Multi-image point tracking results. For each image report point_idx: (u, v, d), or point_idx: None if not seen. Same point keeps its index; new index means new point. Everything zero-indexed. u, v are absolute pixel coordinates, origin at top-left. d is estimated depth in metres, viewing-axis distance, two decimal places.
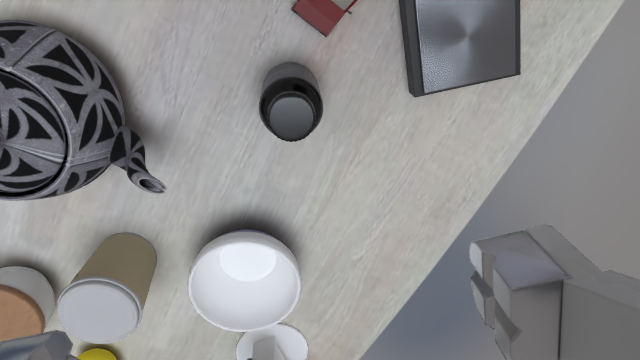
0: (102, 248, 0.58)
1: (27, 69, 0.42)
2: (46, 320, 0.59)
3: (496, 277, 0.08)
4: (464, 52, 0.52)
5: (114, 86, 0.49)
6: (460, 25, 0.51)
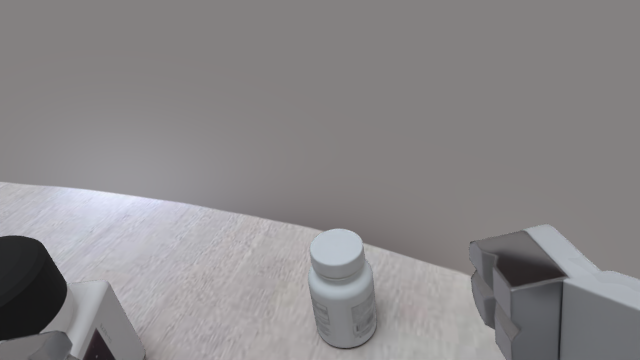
0: None
1: None
2: None
3: (496, 277, 0.08)
4: None
5: None
6: None
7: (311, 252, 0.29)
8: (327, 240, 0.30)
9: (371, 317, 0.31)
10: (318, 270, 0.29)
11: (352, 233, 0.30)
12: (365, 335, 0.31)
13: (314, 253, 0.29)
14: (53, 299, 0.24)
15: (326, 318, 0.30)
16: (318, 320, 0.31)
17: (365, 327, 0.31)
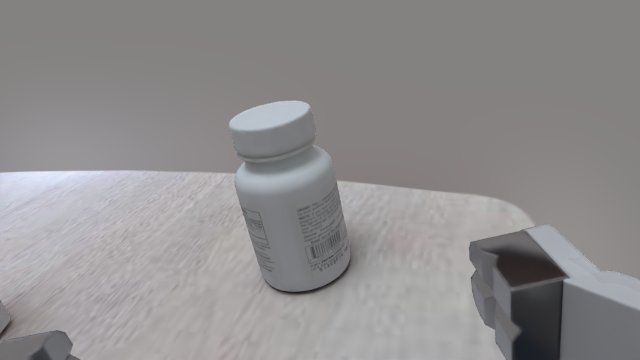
0: None
1: None
2: None
3: (496, 277, 0.08)
4: None
5: None
6: None
7: (230, 124, 0.19)
8: (258, 112, 0.19)
9: (337, 238, 0.20)
10: (240, 149, 0.18)
11: (296, 101, 0.20)
12: (329, 268, 0.20)
13: (234, 124, 0.18)
14: None
15: (262, 237, 0.19)
16: (255, 248, 0.20)
17: (327, 253, 0.20)
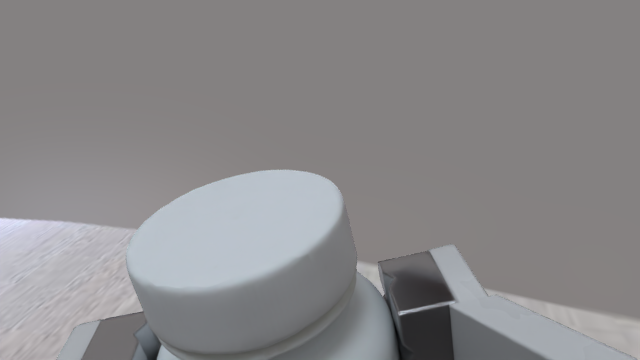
0: None
1: None
2: None
3: (391, 299, 0.08)
4: None
5: None
6: None
7: (130, 247, 0.07)
8: (209, 204, 0.08)
9: None
10: (151, 325, 0.07)
11: (307, 176, 0.08)
12: None
13: (139, 249, 0.07)
14: None
15: None
16: None
17: None
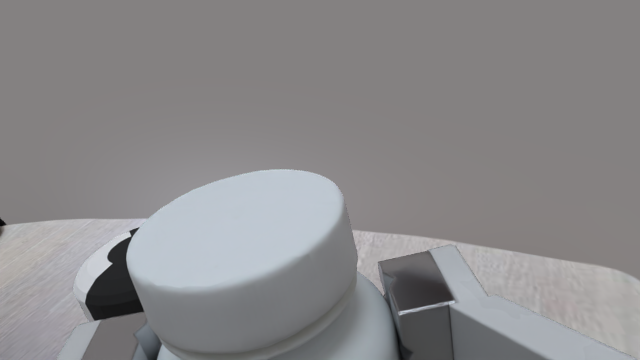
0: None
1: None
2: None
3: (391, 300, 0.08)
4: None
5: None
6: None
7: (131, 246, 0.07)
8: (210, 204, 0.08)
9: None
10: (152, 324, 0.07)
11: (307, 175, 0.08)
12: None
13: (140, 249, 0.07)
14: None
15: None
16: None
17: None
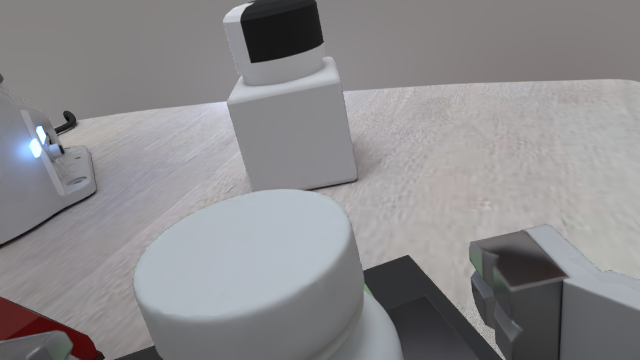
0: None
1: None
2: None
3: (496, 277, 0.08)
4: None
5: None
6: None
7: (137, 270, 0.07)
8: (216, 225, 0.08)
9: None
10: (158, 349, 0.07)
11: (313, 196, 0.08)
12: None
13: (146, 273, 0.07)
14: None
15: None
16: None
17: None
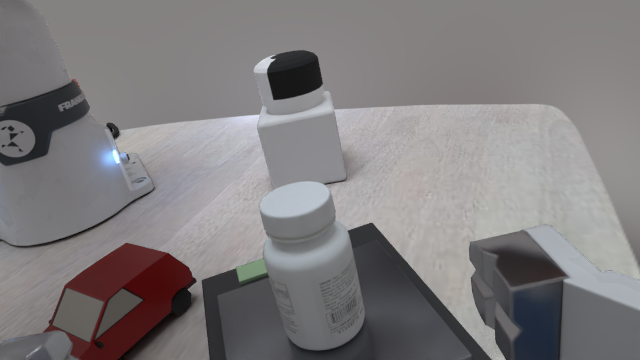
0: None
1: None
2: None
3: (496, 277, 0.08)
4: None
5: None
6: None
7: (260, 207, 0.21)
8: (283, 193, 0.22)
9: (354, 303, 0.23)
10: (269, 231, 0.21)
11: (318, 183, 0.22)
12: (347, 330, 0.23)
13: (264, 208, 0.21)
14: None
15: (288, 305, 0.22)
16: (281, 311, 0.23)
17: (345, 317, 0.22)
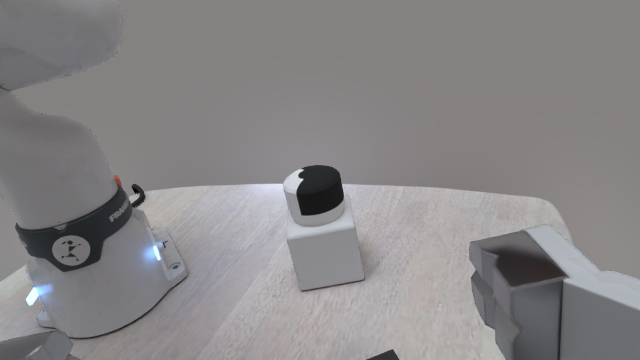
0: None
1: None
2: None
3: (496, 277, 0.08)
4: None
5: None
6: None
7: None
8: None
9: None
10: None
11: None
12: None
13: None
14: (342, 190, 0.52)
15: None
16: None
17: None
